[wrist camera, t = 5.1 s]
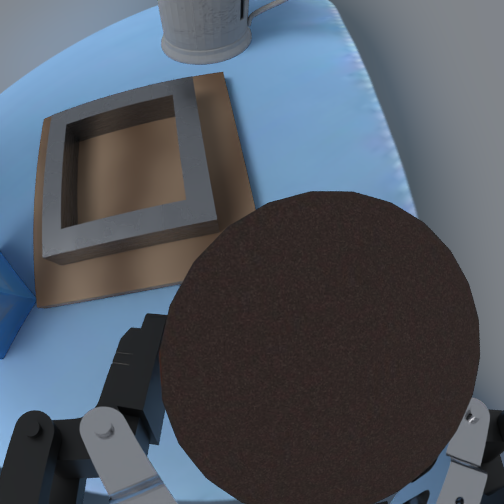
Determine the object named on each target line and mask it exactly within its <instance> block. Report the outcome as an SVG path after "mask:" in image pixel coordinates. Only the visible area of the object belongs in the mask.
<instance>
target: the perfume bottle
mask: <svg viewBox="0 0 504 504" xmlns="http://www.w3.org/2000/svg"><path fill="white" fill-rule="evenodd" d="M35 303H36V297H35V296H34V295H33V294H32V292H31V291H30V290H29V289H28V287H27V286H26V285H25V284H24V282H23V281H22V280H21V279H20V277H19V276H18V275H17V273H16V272H15V271H14V270H13V268H12V267H11V266H10V264H9V263H8V262H7V260H6V259H5V257H4V256H3V255H2V253H1V252H0V359H4V357H5V355H6V353H7V351H8V349H9V347H10V345H11V344H12V342H13V340H14V338H15V336H16V335H17V333H18V331H19V329H20V328H21V326H22V324H23V322H24V321H25V319H26V317H27V316H28V314H29V312H30V311H31V309H32V307H33V306H34V304H35Z"/></svg>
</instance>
